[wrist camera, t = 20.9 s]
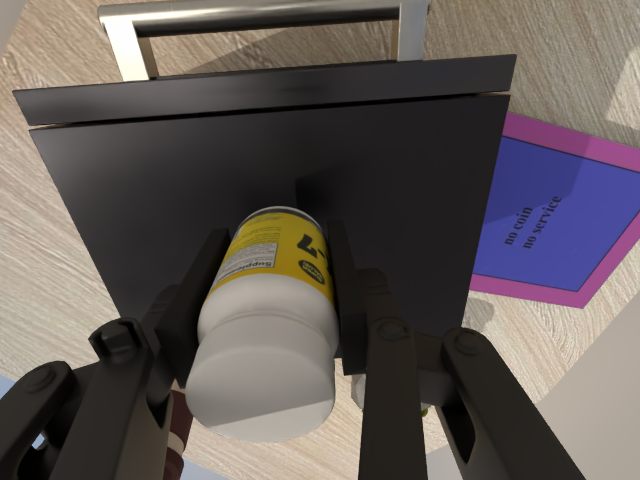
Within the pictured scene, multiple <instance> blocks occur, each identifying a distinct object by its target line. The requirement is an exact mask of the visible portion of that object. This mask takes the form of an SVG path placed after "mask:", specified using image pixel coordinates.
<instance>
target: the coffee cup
mask: <svg viewBox="0 0 640 480" xmlns="http://www.w3.org/2000/svg"><path fill="white" fill-rule="evenodd" d="M170 390H171V392H172V395H173V401H174V402H173V409H172V416H171V423H170V430H169V438H168V445H167V452H166V459H165V466H164V473H163V480H180V477H181V473H182V470H183V467H184V461H183V459H182V453H183V452H184V450H185V448H186V444H187V440H188V436H189V432H190V428H191V424H192V420H193V415H192V413H191V412H190V410H189V408H188V405H187V403H186V397H185V389H180V388H179V386H178V383H177V381H176V379H175V380H174V382H173V384H172V387H171V389H170Z"/></svg>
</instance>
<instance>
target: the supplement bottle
mask: <svg viewBox="0 0 640 480" xmlns="http://www.w3.org/2000/svg"><path fill="white" fill-rule="evenodd" d="M197 336H198V342H199V345H200V346H199V347H198V350H197V353H196V357H195V360H194V363H193V366H192V368H191V371H190V374H189V377H188V380H187V383H186V389H185V397H186V403H187V405H188V408H189V410H190V412H191V413H192V415H193V416H194V417H195V418H196V419H197V420H198V421H199V422H200V423H201V424H202V425H203V426H205V427H206V428H208V429H209V430H211V431H213V432H214V433H217V434H219V435H221V436H224V437H227V438H230V439H233V440H238V441H243V442H249V443H277V442H283V441H287V440H292V439H295V438H298V437H301V436H303V435H306V434H308V433H310V432H311V431H313V430H315V429H316V428H318V427H319V426H320V425H321V424H322V423H323V422H324V421H325V420H326V419H327V418H328V416H329V415H330V413H331V411H332V409H333V406H334V403H335V374H334V372H335V361H334V355H335V353H336V350H337V348H338V344H339V339H340V323H339V315H338V310H337V302H336V296H335V288H334V280H333V274H332V268H331V261H330V253H329V246H328V242H327V238H326V236H325V233H324V232H323V230H322V228H321V227H320V226H319V224H318V223H317V222H316V221H315V220H314V219H313V218H312V217H310V216H309V215H308V214H306V213H304V212H302V211H300V210H298V209H295V208H291V207H284V206H274V207H268V208H264V209H261V210H259V211H256V212H255V213H253V214H251V215H250V216H249V217H247V218H246V219H245V220H244V221H243V222H242V223H241V225H240V226H239V227H238V229H237V231H236V233H235V235H234V237H233V239H232V242H231V244H230V246H229V248H228V251H227V253H226V255H225V257H224V260H223V262H222V264H221V266H220V269H219V271H218V273H217V276H216V278H215V280H214V282H213V285H212V287H211V289H210V291H209V293H208V296H207V298H206V300H205V302H204V304H203V306H202V309H201V312H200V316H199V319H198V327H197Z"/></svg>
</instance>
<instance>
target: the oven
mask: <svg viewBox="0 0 640 480" xmlns="http://www.w3.org/2000/svg"><path fill="white" fill-rule="evenodd" d="M510 96H511V95H509V94H497V93H475V94H461V95H448V96H434V97H420V98H407V99H393V100H379V101H366V102H352V103H338V104H325V105H311V106H297V107H283V108H270V109H256V110H242V111H229V112H215V113H201V114H188V115H174V116H160V117H147V118H133V119H119V120H106V121H92V122H78V123H65V124H56V125H51V126H46V127H40V128H36V129H31V130H28V131H29V133H30V135H31V137H32V139H33V141H34V143H35V145H36V147H37V149H38V151H39V153H40V155H41V157H42V159H43V161H44V163H45V165H46V167H47V169H48V171H49V173H50V175H51V177H52V179H53V181H54V183H55V185H56V187H57V189H58V191H59V193H60V195H61V197H62V199H63V202H64V204H65V206H66V208H67V210H68V212H69V214H70V216H71V218H72V220H73V222H74V224H75V226H76V228H77V230H78V232H79V234H80V236H81V238H82V240H83V242H84V244H85V246H86V248H87V250H88V252H89V254H90V256H91V258H92V260H93V262H94V264H95V266H96V268H97V270H98V272H99V274H100V276H101V278H102V280H103V282H104V284H105V286H106V288H107V290H108V292H109V294H110V296H111V298H112V300H113V302H114V304H115V306H116V308H117V310H118V312H119V314H120V316H121V318H125V317H131V318H135V319H136V320H137V321H138V322H139V323H140V321H141V320H142V318H143V317H144V315H145V314H146V313H147V312H148V309H149V308H150V306H151V305H153V302H154V300H155V299H156V297H157V296H158V294H159V293H160V292H161V291H163V290H164V289H165V288H166V287H168V286H169V285H177V284H181V282H182V280H183V279H184V277H185V275H186V274H187V272H188V270H189V268H190V267H191V265H192V263H193V262H194V260H195V258H196V257H197V255H198V253H199V251H200V250H201V248H202V246H203V245H204V243H205V241H206V240H207V238H208V236H209V234H210V233H211V231H212V229H222V228H228V229H229V233H230V238H231V242H232V239H233V237H234V235H235V233H236V231H237V229H238V227H239V226H240V225H241V223H242V222H243V221H244V220H245V219H246V218H247V217H249V216H250V215H251V214H253V213H255V212H256V211H259V210H261V209H264V208H268V207H274V206H284V207H291V208H295V209H298V210H300V211H302V212H304V213H306V214H308V215H309V216H310V217H312V218H313V219H314V220H315V221H316V222H317V223H318V224H319V226H320V227H321V228H322V230H323V232H324V233H325V236H326V238H327V242H328V229H327V220H339V219H343V223H344V226H345V230H346V234H347V238H348V242H349V245H350V249H351V253H352V257H353V261H354V264H355V268H356V270H357V269H370V268H378V269H379V270H380V271H381V272H382V273H383V274H384V275H385V276H386V279H387V281H388V285H389V286H390V289H391V292H392V294H393V296H394V299H395V301H396V304H397V306H398V309H399V311H400V314H401V316H402V318H403V320H404V321H406V322H407V323H408V324H409V325H410V326H411V327H412V329H413V330H415V331H417V332H420V333H423V334H427V335H432V336H438V337H443V336H444V333H445V332H447V331H448V330H449V329H452V328H456V327H461V325H462V321H463V316H464V311H465V307H466V302H467V297H468V293H469V288H470V283H471V278H472V274H473V269H474V264H475V260H476V255H477V250H478V246H479V241H480V236H481V232H482V227H483V222H484V218H485V213H486V208H487V204H488V199H489V194H490V190H491V185H492V180H493V175H494V171H495V166H496V161H497V157H498V152H499V147H500V143H501V138H502V133H503V129H504V124H505V119H506V115H507V110H508V105H509V101H510ZM335 358H342V357H341V350H340V342H339V344H338V348H337V350H336V353H335V355H334V359H335Z"/></svg>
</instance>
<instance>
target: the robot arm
mask: <svg viewBox="0 0 640 480" xmlns="http://www.w3.org/2000/svg"><path fill="white" fill-rule="evenodd" d="M327 229H328V246H329V253H330V261H331V268H332V274H333V280H334V288H335V296H336V302H337V310H338V315H339V323H340V339H339V342H340V350H341V357H342V365H343V373H344V376H346V375H358V374H366V381H365V394H364V407H363V420H362V433H361V447H360V460H359V473H358V480H428V475H427V464H426V454H425V443H424V433H423V422H422V411H421V403H425V404H429V405H434V406H435V409H436V412H437V414H438V417H439V419H440V422H441V424H442V427H443V430H444V432H445V435H446V437H447V440H448V442H449V445H450V447H451V450H452V453H453V455H454V457H455V460H456V463H457V465H458V468H459V470H460V473H461V476H462V478H463V480H586V479H585V477H584V476H583V475H582V473H581V472H580V470H579V469H578V467H577V466H576V465H575V463H574V462H573V460H572V459H571V457H570V456H569V455H568V453H567V452H566V450H565V449H564V447H563V446H562V444H561V443H560V442H559V440H558V439H557V437H556V436H555V434H554V433H553V432H552V430H551V429H550V427H549V426H548V424H547V423H546V422H545V420H544V418H543V417H542V415H541V414H540V413H539V411H538V410H537V408H536V407H535V405H534V404H533V403H532V401H531V400H530V398H529V397H528V395H527V394H526V392H525V391H524V390H523V388H522V387H521V385H520V384H519V382H518V381H517V379H516V378H515V377H514V375H513V374H512V372H511V371H510V369H509V368H508V366H507V365H506V364H505V362H504V361H503V359H502V358H501V356H500V355H499V353H498V352H497V351H496V349H495V348H494V346H493V345H492V343H491V342H490V341H489V340H488V339H487V338H486V337H485V336H484V335H482V334H481V333H479V332H477V331H475V330H472V329H469V328H462V327H456V328H452V329H449V330H448V331H447V332H445V333H444V336H443V337H438V336H432V335H427V334H423V333H420V332H417V331H415V330H413V329H412V327H411V326H410V325H409V324H408V323H407V322H406V321H404V320H403V318H402V316H401V314H400V311H399V309H398V306H397V304H396V301H395V299H394V296H393V294H392V292H391V289H390V286H389V285H388V281H387V279H386V276H385V275H384V274H383V273H382V272H381V271H380V270H379V269H378V268H370V269H357V270H356V268H355V264H354V261H353V257H352V253H351V249H350V245H349V242H348V238H347V234H346V230H345V226H344V223H343V219H339V220H327ZM230 244H231V238H230V233H229V229H228V228H222V229H212V231H211V233H210V234H209V236H208V238H207V240H206V241H205V243H204V245H203V246H202V248H201V250H200V251H199V253H198V255H197V257H196V258H195V260H194V262H193V263H192V265H191V267H190V268H189V270H188V272H187V274H186V275H185V277H184V279H183V280H182V282H181V284H177V285H169V286H168V287H166V288H165V289H164V290H163V291H161V292H160V293H159V294H158V296H157V297H156V299H155V300H154V302H153V305H151V306H150V308H149V309H148V312H147V313H146V314H145V315H144V317H143V318H142V320H141V321H140V323H139V322H138V321H137V320H136V319H135V318H131V317H125V318H119V319H115V320H112V321H110V322H108V323H106V324H104V325H102V326H101V327H99V328H98V329H97V330H95V331H94V332H93V333H92V334H91V336H90V337H89V338H88V340H89V342H90V344H91V345H92V347H93V349H94V350H95V352H96V354H97V355H98V357H99V359H100V360H99V362H96V363H93V364H90V365H87V366H83V367H80V368H77V369H74V370H72V369H71V368H70V366H69V365H68V364H67V363H66V362H65V361H53V362H48V363H46V364H43V365H41V366H38V367H36V368H35V369H33V370H31V371H30V372H28V373H27V374H25V375H24V376H23V377H22V378H21V379H19V380H18V381H17V382H16V383H15V384H14V386H13V387H12V388H11V389H10V390H9V391H8V392H7V393H6V394H5V395H4V396H3V397H2V398H1V400H0V480H163V473H164V466H165V459H166V452H167V445H168V438H169V430H170V423H171V416H172V409H173V402H174V401H173V395H172V392H171V390H170V389H171V387H172V384H173V382H174V380H175V379H176V381H177V383H178V386H179V388H180V389H186V383H187V380H188V377H189V374H190V371H191V368H192V366H193V363H194V360H195V357H196V353H197V350H198V347H199V346H200V345H199V342H198V336H197V327H198V319H199V316H200V312H201V309H202V306H203V304H204V302H205V300H206V298H207V296H208V293H209V291H210V289H211V287H212V285H213V282H214V280H215V278H216V276H217V273H218V271H219V269H220V266H221V264H222V262H223V260H224V257H225V255H226V253H227V251H228V248H229V246H230ZM39 434H41V435H42V436H43V437H44V438H45V440H44V441H43V443H42V444H41V445H40V446H39V447H38V448H37V449H34V447H33V446H32V444H33V442H34V441H35V440H36V438H37V437H38V436H39Z"/></svg>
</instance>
